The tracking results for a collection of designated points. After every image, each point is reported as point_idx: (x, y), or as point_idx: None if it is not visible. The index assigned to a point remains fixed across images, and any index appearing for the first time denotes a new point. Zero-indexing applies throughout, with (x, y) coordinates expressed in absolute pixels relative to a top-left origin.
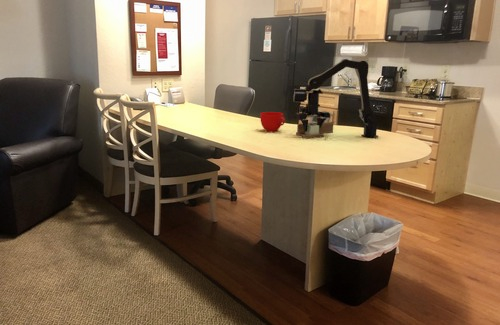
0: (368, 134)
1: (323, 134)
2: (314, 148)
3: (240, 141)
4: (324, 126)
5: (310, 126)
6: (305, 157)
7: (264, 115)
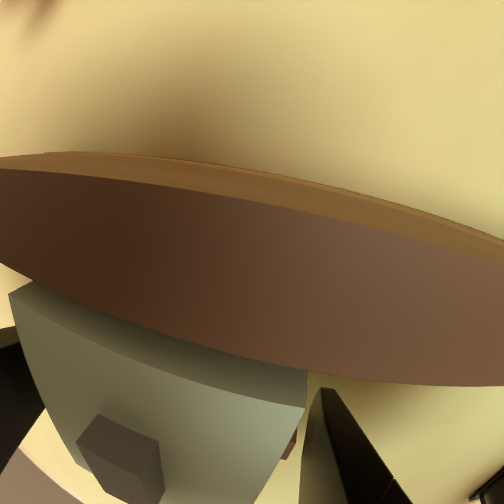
0: (485, 499)
1: (285, 459)
2: (75, 466)
3: None
4: None
5: (74, 453)
6: (39, 461)
7: None
